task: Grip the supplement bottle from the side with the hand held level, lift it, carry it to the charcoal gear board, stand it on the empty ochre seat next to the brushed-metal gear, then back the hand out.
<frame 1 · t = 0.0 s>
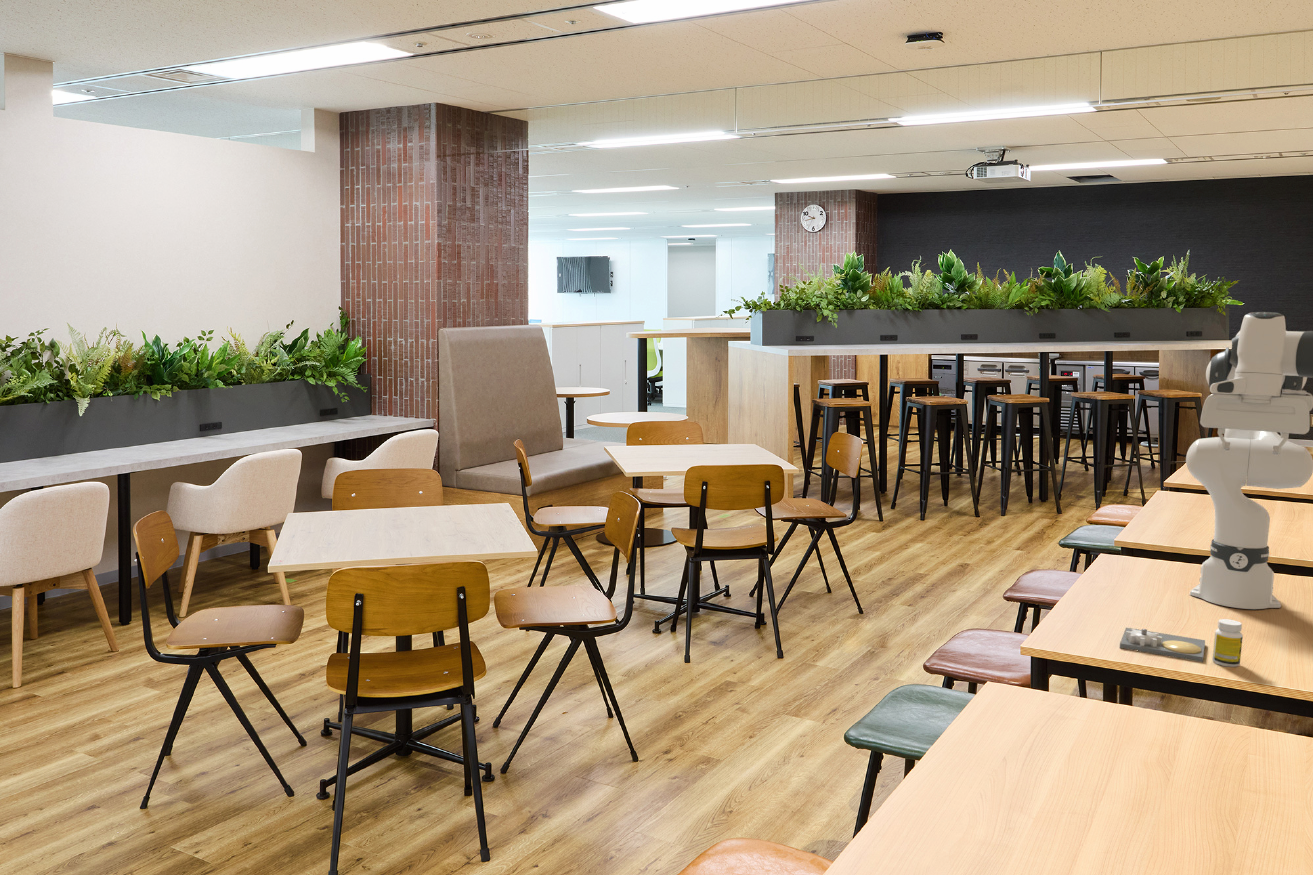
hand: (1250, 452, 217), 39 cm above the table, tool pointing down, fingers open, 8 cm apart
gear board: (1162, 646, 209), on the table
supplement bottle: (1225, 664, 200), on the table
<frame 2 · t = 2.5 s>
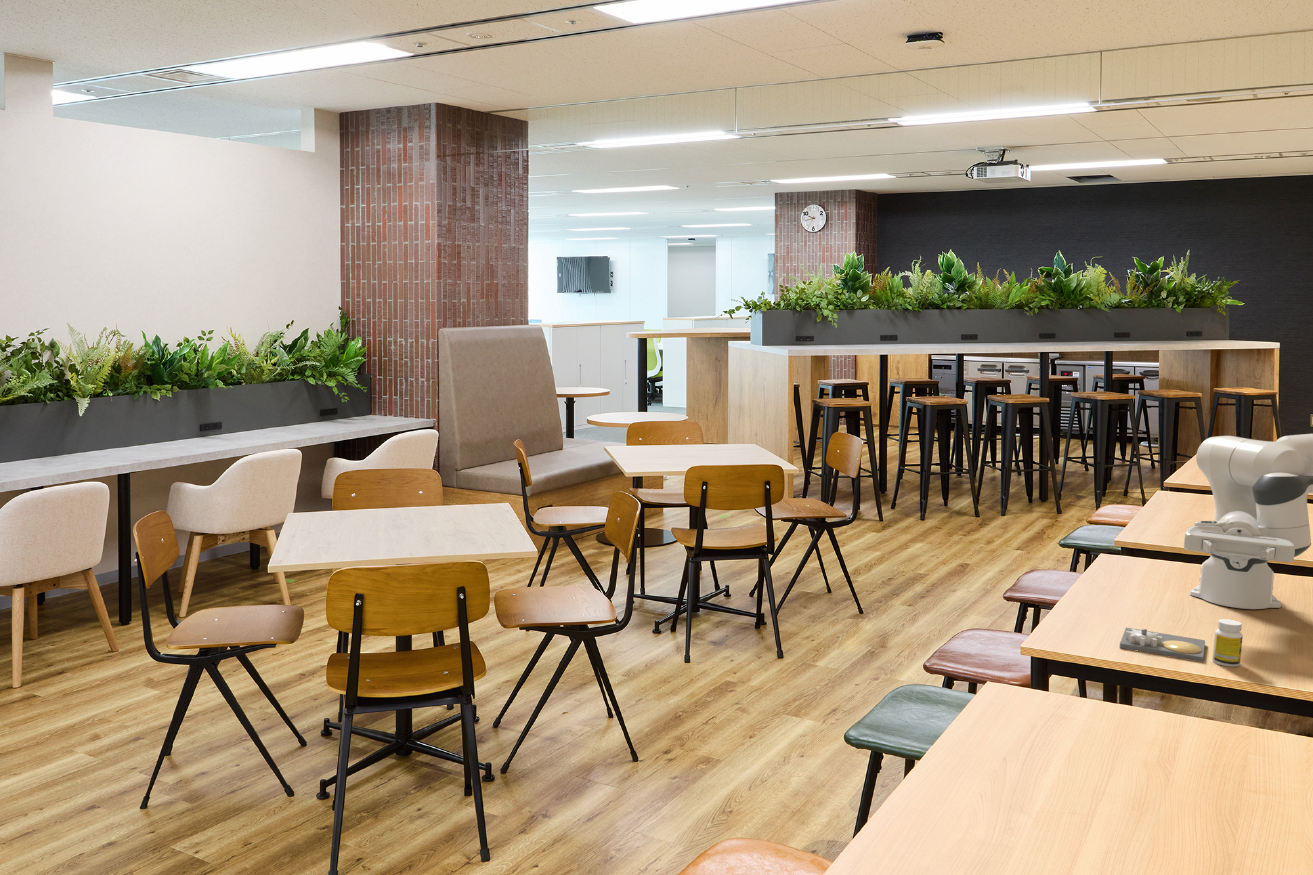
hand: (1238, 552, 208), 20 cm above the table, tool horizontal, fingers open, 8 cm apart
nothing on the table moved.
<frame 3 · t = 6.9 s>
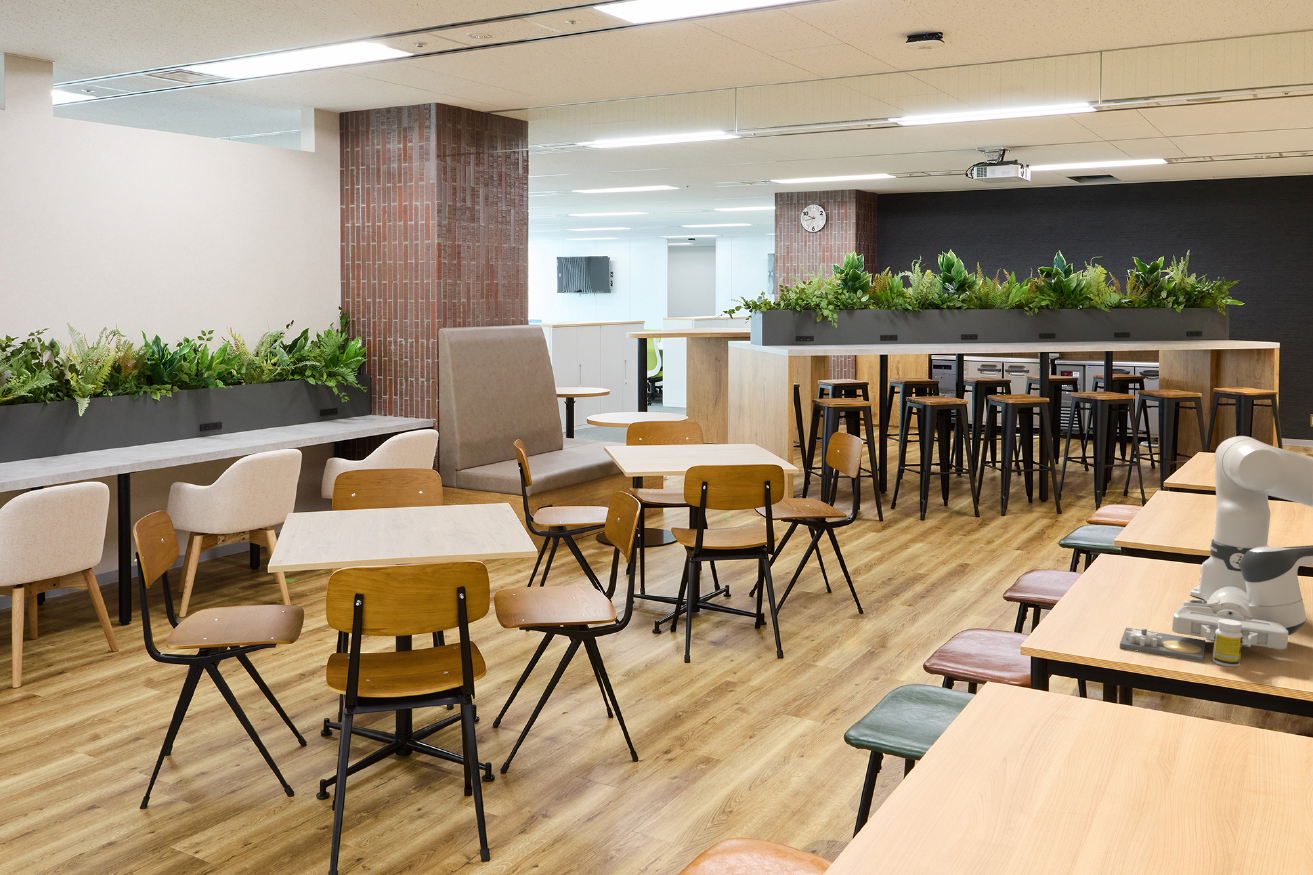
hand: (1228, 639, 199), 5 cm above the table, tool horizontal, fingers closed on supplement bottle, 5 cm apart
supplement bottle: (1225, 664, 200), on the table, touching gripper
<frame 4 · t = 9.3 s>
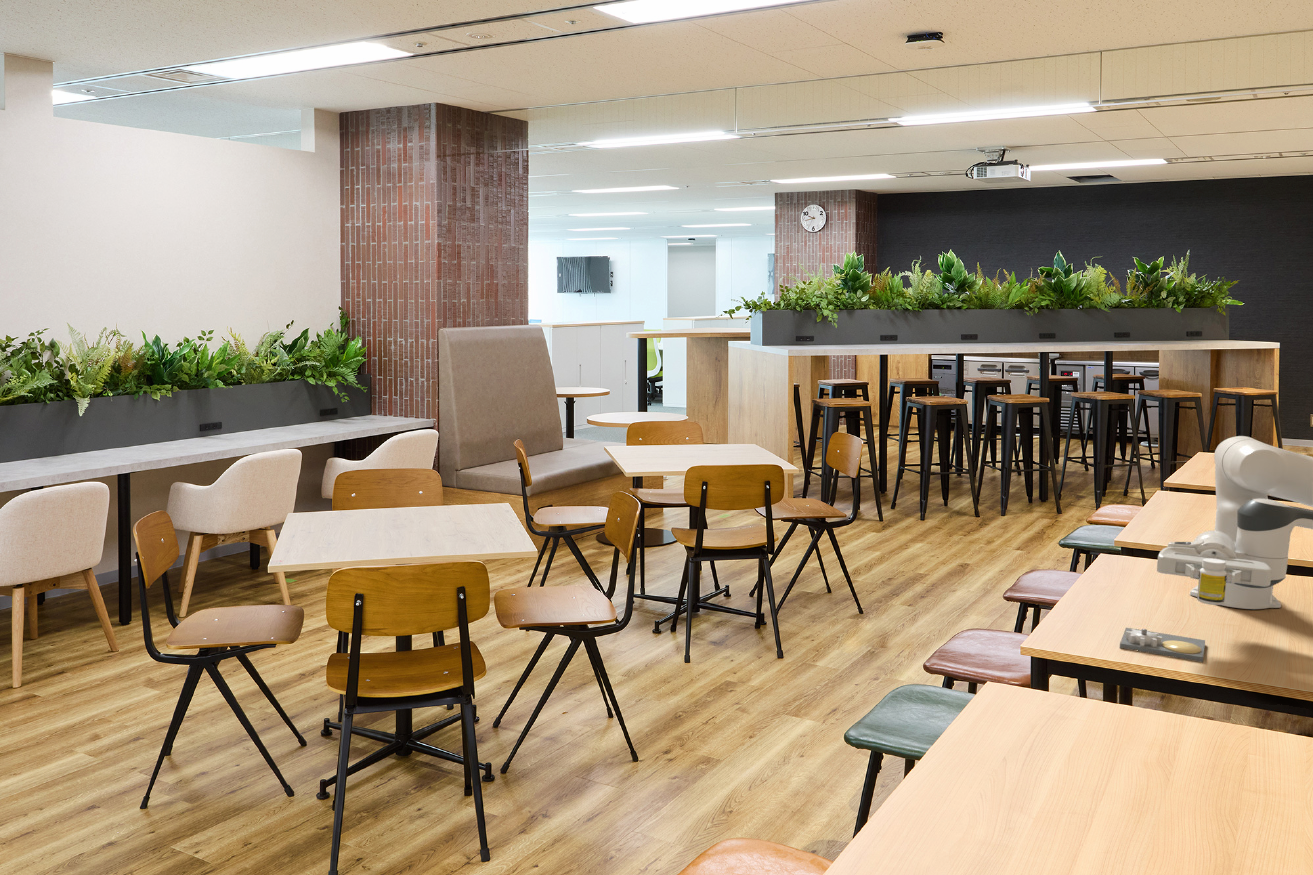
hand: (1212, 577, 199), 17 cm above the table, tool horizontal, fingers closed on supplement bottle, 5 cm apart
supplement bottle: (1210, 603, 201), point 11 cm above the table, touching gripper
when the fingers open (8 cm above the table, at t = 11.7 s): supplement bottle stays where it is, resting on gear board.
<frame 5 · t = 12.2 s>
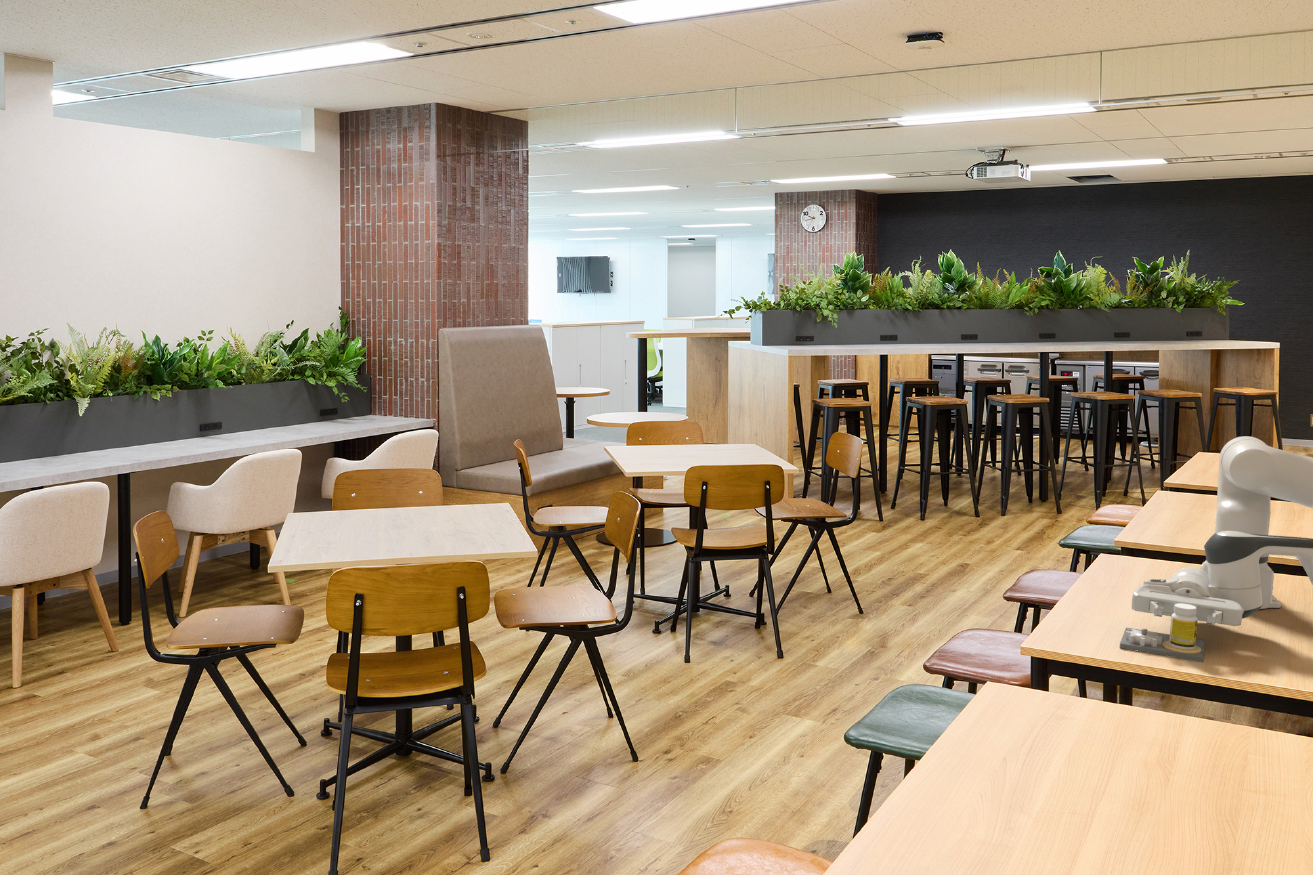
hand: (1184, 616, 204), 8 cm above the table, tool horizontal, fingers open, 8 cm apart
supplement bottle: (1181, 647, 205), point 1 cm above the table, touching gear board
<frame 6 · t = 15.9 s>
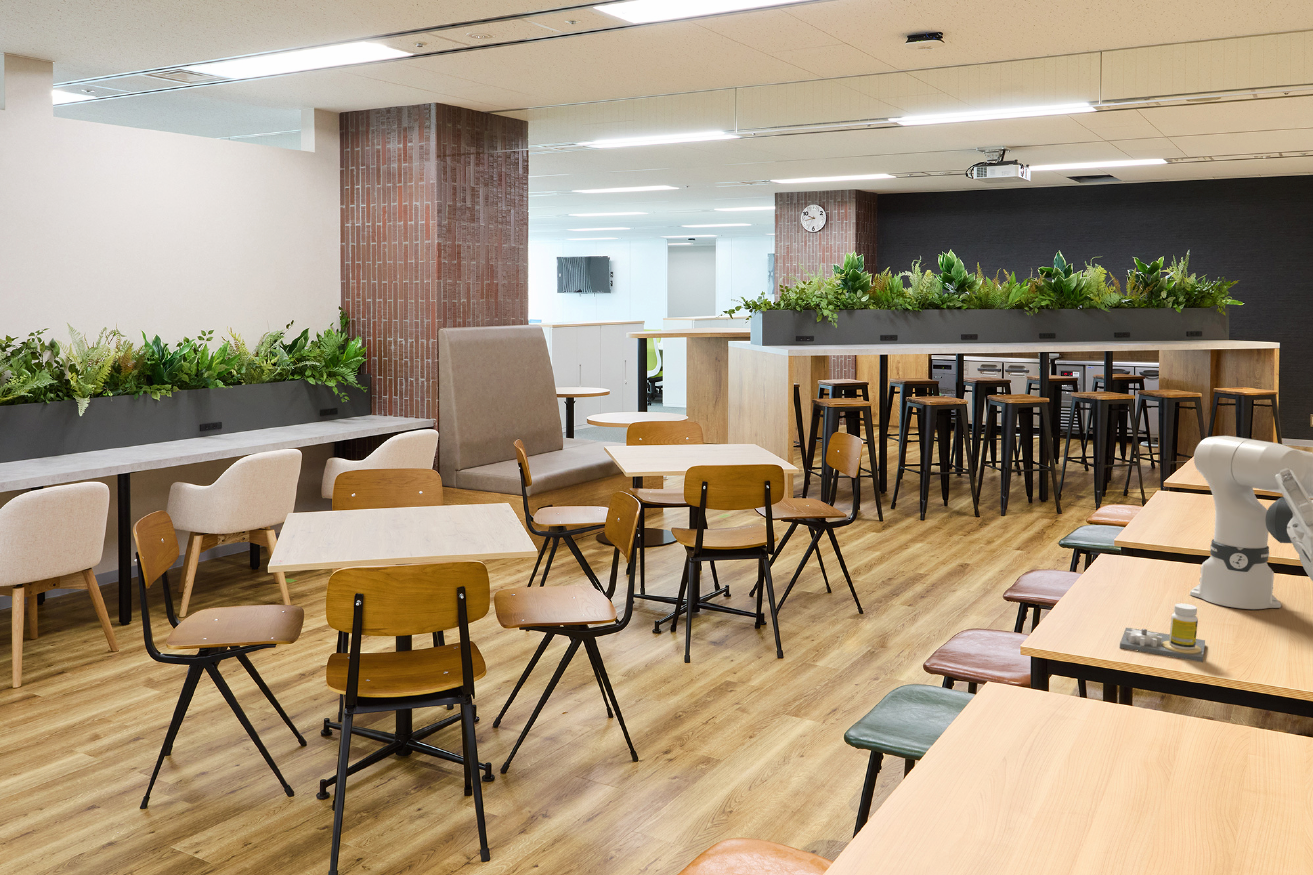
hand: (1293, 486, 201), 35 cm above the table, tool pointing upward, fingers open, 8 cm apart
nothing on the table moved.
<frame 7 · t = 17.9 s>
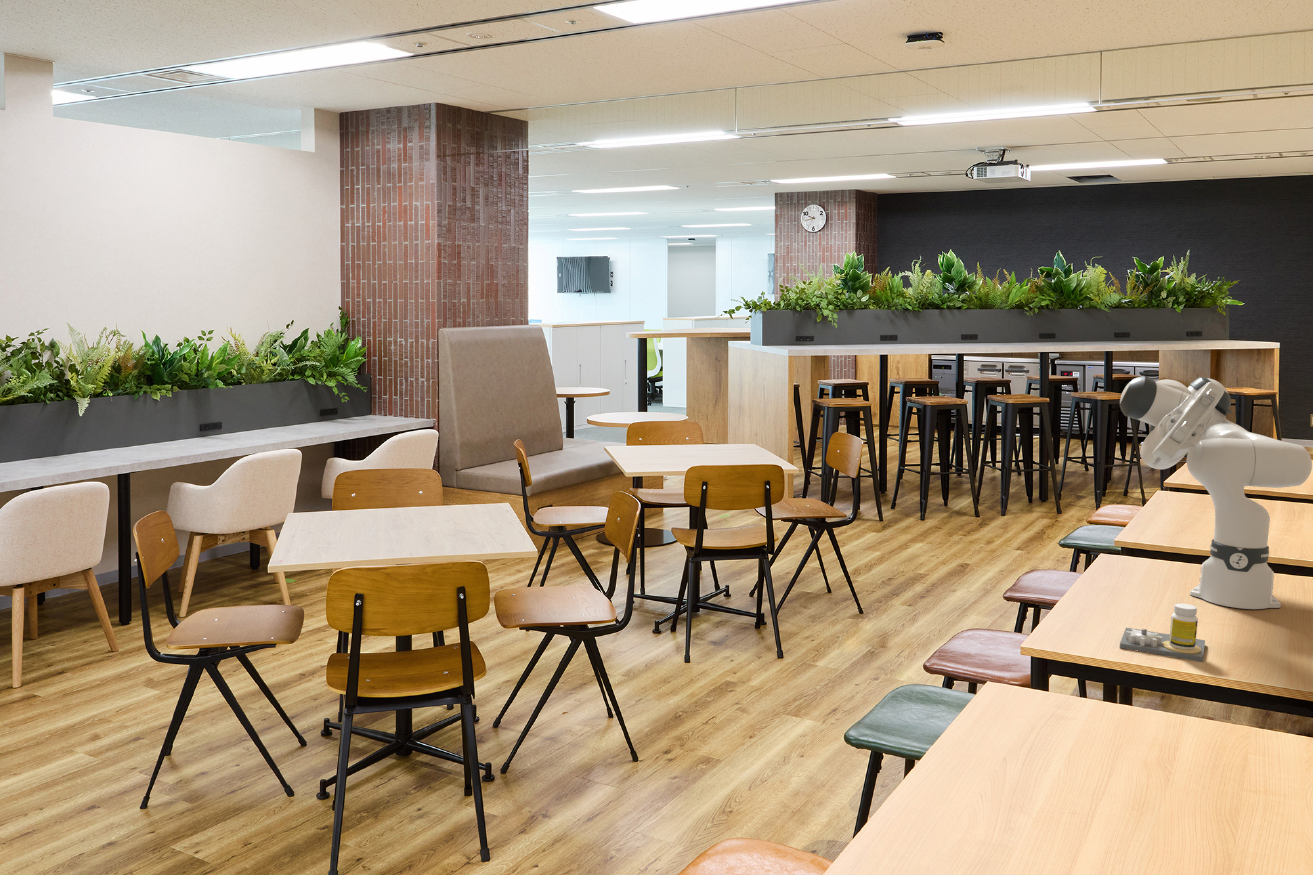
hand: (1200, 409, 212), 48 cm above the table, tool pointing upward, fingers open, 8 cm apart
nothing on the table moved.
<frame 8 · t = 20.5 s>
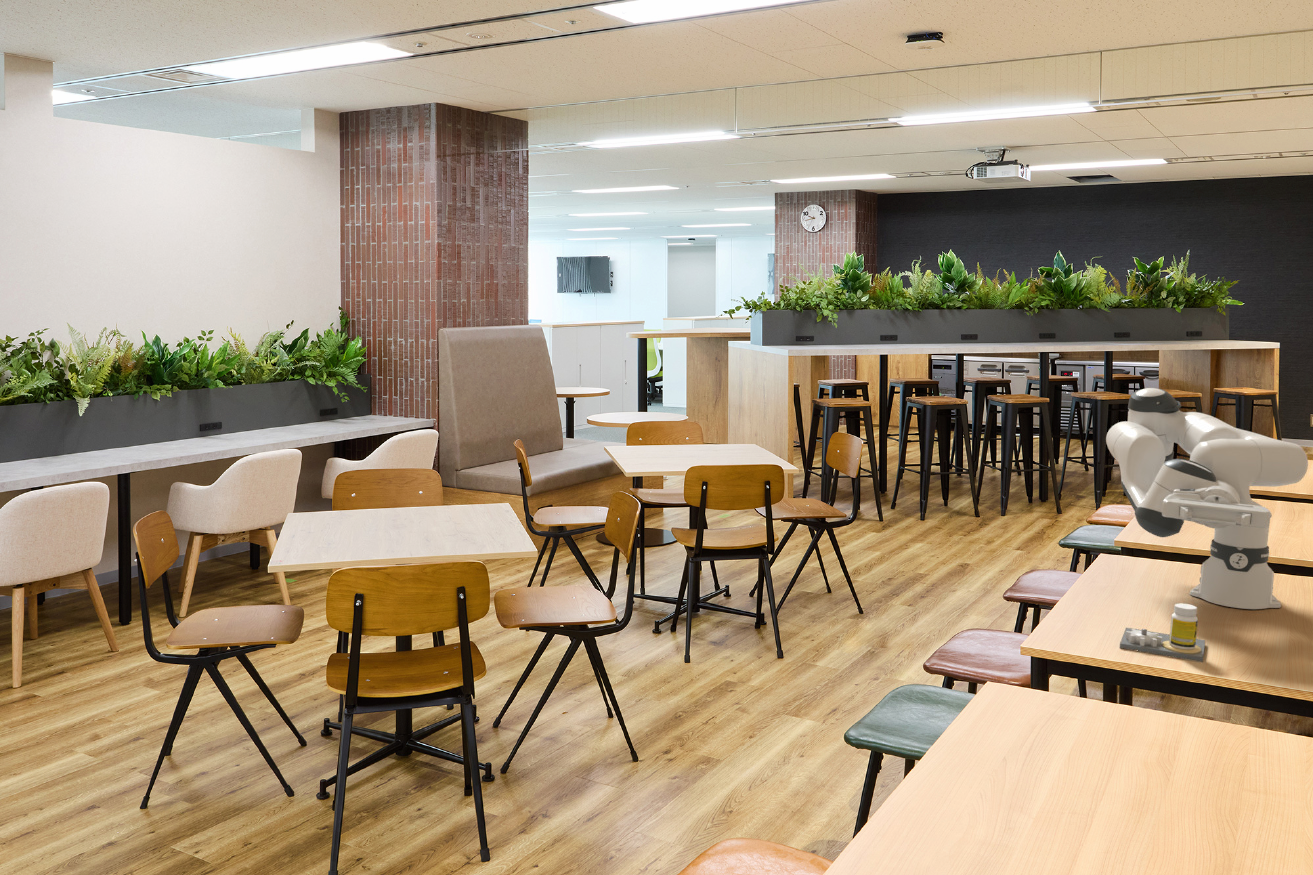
hand: (1213, 518, 211), 26 cm above the table, tool horizontal, fingers open, 8 cm apart
nothing on the table moved.
at the end: supplement bottle 0.1 cm from the target spot on the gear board, point 1.1 cm above the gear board's base; supplement bottle tilted 0°; the gripper is holding nothing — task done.
